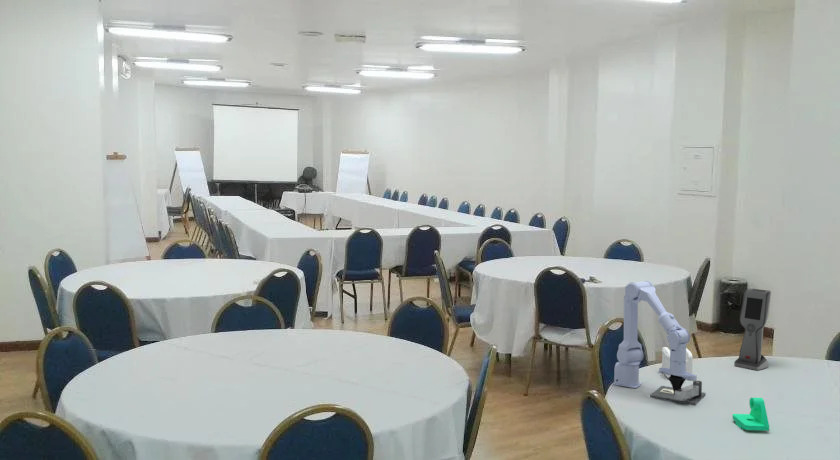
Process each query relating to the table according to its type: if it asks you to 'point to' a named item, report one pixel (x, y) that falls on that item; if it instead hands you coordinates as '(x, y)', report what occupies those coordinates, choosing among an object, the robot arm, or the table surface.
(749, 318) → the thermal camera
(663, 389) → the label
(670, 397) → the lid
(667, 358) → the cable organizer
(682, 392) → the bar
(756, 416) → the camera mount
